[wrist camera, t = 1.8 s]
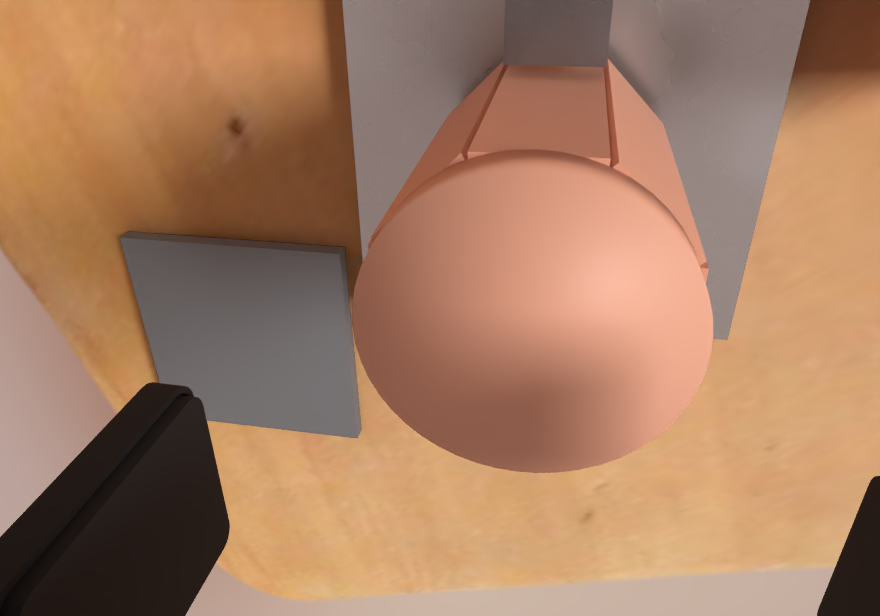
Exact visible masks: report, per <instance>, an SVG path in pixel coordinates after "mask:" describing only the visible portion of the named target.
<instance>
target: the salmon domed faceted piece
mask: <svg viewBox="0 0 880 616" xmlns="http://www.w3.org/2000/svg"><path fill="white" fill-rule="evenodd" d="M370 238H371V240H370V242H369V243H368V253H367V255H366V257H365V259H364V261H363V263H362V265H361V267H360V271H359V274H358V277H357V281H356V284H355V288H354V296H353V303H352V325H353V331H354V337H355V343H356V346H357V350H358V353H359V356H360V359H361V362H362V364H363V366H364V368H365V371H366V373H367V375H368V377H369V379H370V381H371V382H372V384H373V385H374V387H375V388H376V390H377V392H378V393H379V395H380V396H381V397H382V398H383V400H384V401H385V402H386V403H387V405H388V406H389V407H390V408H391V409H392V410H393V411H394V412H395V413H396V414H397V415H398V416H399V417H400V418H401V419H402V420H403V421H404V422H405V423H406V424H407V425H409V426H410V427H411V428H412V429H414V430H415V431H416V432H417V433H419V434H420V435H421V436H423V437H424V438H426V439H428V440H429V441H431V442H432V443H434V444H436V445H437V446H439V447H441V448H443V449H445V450H447V451H449V452H451V453H453V454H455V455H457V456H460V457H463V458H465V459H468V460H471V461H473V462H476V463H480V464H483V465H487V466H491V467H494V468H500V469H506V470H511V471H519V472H532V473H551V472H564V471H573V470H580V469H584V468H588V467H593V466H597V465H601V464H603V463H606V462H609V461H612V460H615V459H618V458H620V457H622V456H624V455H627V454H629V453H631V452H633V451H635V450H637V449H639V448H640V447H642V446H643V445H645V444H647V443H648V442H650V441H651V440H653V439H654V438H656V437H657V436H658V435H659V434H661V433H662V432H663V431H664V430H666V429H667V428H668V427H669V426H670V425H671V424H672V423H673V422H674V421H675V420H676V419H677V418H678V417H679V416H680V415H681V414H682V412H683V411H684V410H685V409H686V407H687V406H688V404H689V403H690V401H691V400H692V399H693V397H694V396H695V394H696V392H697V390H698V388H699V386H700V384H701V382H702V380H703V378H704V376H705V373H706V369H707V366H708V363H709V360H710V356H711V349H712V342H713V314H712V309H711V303H710V298H709V293H708V290H707V287H706V280H707V275H708V271H709V267H708V264H707V260H706V257H705V253H704V250H703V247H702V244H701V241H700V238H699V235H698V231H697V228H696V225H695V222H694V219H693V216H692V212H691V209H690V206H689V203H688V200H687V197H686V194H685V190H684V187H683V184H682V181H681V178H680V175H679V172H678V168H677V165H676V162H675V159H674V156H673V153H672V149H671V146H670V143H669V140H668V137H667V134H666V131H665V127H664V124H663V123H662V121H661V120H660V119H659V118H658V117H657V116H656V114H655V113H654V112H653V111H652V110H651V108H650V107H649V106H648V105H647V104H646V103H645V101H644V100H643V99H642V98H641V97H640V96H639V94H638V93H637V92H636V91H635V90H634V88H633V87H632V86H631V85H630V84H629V83H628V81H627V80H626V79H625V78H624V77H623V76H622V74H621V73H620V72H619V71H618V70H617V68H616V67H615V66H614V65H613V64H612V63H611V61H610V60H609V59H607V64H606V67H571V66H534V65H503V62H502V63H501V64H500V65H499V66H498V67H497V68H496V69H495V70H494V71H493V72H492V73H491V74H490V75H489V76H488V77H486V78H485V79H484V80H483V81H482V82H481V83H480V84H479V85H478V86H477V87H476V88H475V89H474V90H473V91H472V92H471V93H470V94H469V95H468V96H467V97H466V98H465V99H464V100H463V101H462V102H461V103H460V104H459V105H458V106H457V107H456V108H455V109H454V110H453V111H452V112H451V113H450V114H449V115H448V116H447V118H446V119H445V121H444V123H443V124H442V126H441V127H440V129H439V130H438V132H437V134H436V135H435V137H434V138H433V140H432V141H431V143H430V145H429V146H428V148H427V149H426V151H425V153H424V154H423V156H422V157H421V159H420V160H419V162H418V164H417V165H416V167H415V168H414V170H413V171H412V173H411V175H410V176H409V178H408V179H407V181H406V182H405V184H404V186H403V187H402V189H401V190H400V192H399V193H398V195H397V197H396V198H395V200H394V201H393V203H392V204H391V206H390V208H389V209H388V211H387V212H386V214H385V215H384V217H383V219H382V220H381V222H380V223H379V225H378V226H377V228H376V230H375V231H374V233H373V234H372V236H371V237H370Z"/></svg>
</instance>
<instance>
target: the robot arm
mask: <svg viewBox="0 0 880 616" xmlns="http://www.w3.org/2000/svg"><path fill="white" fill-rule="evenodd" d="M229 527H230V525H229V519H228V514H227V510H226V505H225V501H224V496H223V492H222V487H221V483H220V478H219V474H218V469H217V465H216V460H215V456H214V451H213V447H212V442H211V438H210V433H209V429H208V424H207V420H206V415H205V411H204V406H203V403H202V401H201V399H200V398H198V397H194V395H193V392H192V390H191V389H190V388H189V387H186V386H181V385H172V384H163V383H154V382H152V383H148V384H146V385H145V386H144V387H142V388H141V389H140V391H139V392H138V393H137V394H136V395H135V396H134V397H133V398H132V399H131V400H130V401H129V402H128V403H127V404H126V405H125V406H124V407H123V408H122V410H121V411H120V412H119V413H118V414H117V415H116V416H115V417H114V418H113V419H112V420H111V421H110V422H109V423H108V424H107V425H106V427H104V429H103V430H102V431H101V432H100V433H99V434H98V435H97V436H96V437H95V438H94V439H93V440H92V441H91V442H90V443H89V444H88V445H87V446H86V448H85V449H84V450H83V451H82V452H81V453H80V454H79V455H78V456H77V457H76V458H75V459H74V460H73V461H72V462H71V463H70V464H69V465H68V466H67V467H66V469H65V470H64V471H63V472H62V473H61V474H60V475H59V476H58V477H57V478H56V479H55V480H54V481H53V482H52V483H51V484H50V485H49V487H47V489H46V490H45V491H44V492H43V493H42V494H41V495H40V496H39V497H38V498H37V499H36V500H35V501H34V502H33V503H32V504H31V506H29V508H28V509H27V510H26V511H25V512H24V513H23V514H22V515H21V516H20V517H19V518H18V519H17V520H16V521H15V522H14V523H13V524H12V525H11V526H10V528H9V529H8V530H7V531H6V532H5V533H4V534H3V535H2V536H1V537H0V616H185V615H186V613H187V611H188V610H189V608H190V606H191V604H192V603H193V601H194V599H195V598H196V595H197V594H198V592H199V591H200V589H201V587H202V585H203V584H204V582H205V580H206V578H207V577H208V575H209V573H210V572H211V570H212V568H213V566H214V565H215V563H216V561H217V560H218V558H219V556H220V554H221V553H222V551H223V549H224V547H225V545H226V543H227V539H228V535H229ZM817 616H880V476H875V477H874V478H873V479H872V480H871V482H870V483H869V486H868V488H867V491H866V493H865V495H864V498H863V500H862V503H861V505H860V508H859V510H858V513H857V515H856V518H855V520H854V523H853V525H852V528H851V530H850V532H849V535H848V537H847V540H846V542H845V545H844V547H843V550H842V552H841V555H840V557H839V560H838V562H837V565H836V567H835V569H834V572H833V574H832V577H831V579H830V582H829V584H828V587H827V589H826V592H825V594H824V597H823V599H822V602H821V604H820V606H819V609H818V613H817Z"/></svg>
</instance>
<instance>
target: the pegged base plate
mask: <svg viewBox="0 0 880 616" xmlns="http://www.w3.org/2000/svg"><path fill="white" fill-rule="evenodd" d="M342 4H343V17H344V29H345V42H346V55H347V68H348V80H349V93H350V106H351V119H352V131H353V144H354V157H355V170H356V182H357V195H358V208H359V221H360V233H361V246H362V259H363V261H364V259H365V257H366V255H367V253H368V243H369V242H370V240H371V238H370V237H371V236H372V234H373V233H374V231H375V230H376V228H377V226H378V225H379V223H380V222H381V220H382V219H383V217H384V215H385V214H386V212H387V211H388V209H389V208H390V206H391V204H392V203H393V201H394V200H395V198H396V197H397V195H398V193H399V192H400V190H401V189H402V187H403V186H404V184H405V182H406V181H407V179H408V178H409V176H410V175H411V173H412V171H413V170H414V168H415V167H416V165H417V164H418V162H419V160H420V159H421V157H422V156H423V154H424V153H425V151H426V149H427V148H428V146H429V145H430V143H431V141H432V140H433V138H434V137H435V135H436V134H437V132H438V130H439V129H440V127H441V126H442V124H443V123H444V121H445V119H446V118H447V116H448V115H449V114H450V113H451V112H452V111H453V110H454V109H455V108H456V107H457V106H458V105H459V104H460V103H461V102H462V101H463V100H464V99H465V98H466V97H467V96H468V95H469V94H470V93H471V92H472V91H473V90H474V89H475V88H476V87H477V86H478V85H479V84H480V83H481V82H482V81H483V80H484V79H485V78H486V77H488V76H489V75H490V74H491V73H492V72H493V71H494V70H495V69H496V68H497V67H498V66H499V65H500V64H501V63H502V62H503V65H534V66H571V67H606V64H607V59H609V60H610V61H611V63H612V64H613V65H614V66H615V67H616V68H617V70H618V71H619V72H620V73H621V74H622V76H623V77H624V78H625V79H626V80H627V81H628V83H629V84H630V85H631V86H632V87H633V88H634V90H635V91H636V92H637V93H638V94H639V96H640V97H641V98H642V99H643V100H644V101H645V103H646V104H647V105H648V106H649V107H650V108H651V110H652V111H653V112H654V113H655V114H656V116H657V117H658V118H659V119H660V120H661V121H662V123H663V124H664V127H665V131H666V134H667V137H668V140H669V143H670V146H671V149H672V153H673V156H674V159H675V162H676V165H677V168H678V172H679V175H680V178H681V181H682V184H683V187H684V190H685V194H686V197H687V200H688V203H689V206H690V209H691V212H692V216H693V219H694V222H695V225H696V228H697V231H698V235H699V238H700V241H701V244H702V247H703V250H704V253H705V257H706V260H707V264H708V267H709V271H708V275H707V280H706V287H707V290H708V293H709V298H710V303H711V309H712V314H713V339H723V340H727V339H728V335H729V331H730V327H731V323H732V319H733V315H734V311H735V307H736V303H737V298H738V294H739V290H740V286H741V282H742V278H743V274H744V270H745V266H746V262H747V258H748V253H749V249H750V245H751V241H752V237H753V233H754V229H755V225H756V221H757V217H758V213H759V208H760V204H761V200H762V196H763V192H764V188H765V184H766V180H767V176H768V172H769V168H770V163H771V159H772V155H773V151H774V147H775V143H776V139H777V135H778V131H779V127H780V123H781V118H782V114H783V110H784V106H785V102H786V98H787V94H788V90H789V86H790V82H791V78H792V73H793V69H794V65H795V61H796V57H797V53H798V49H799V45H800V41H801V37H802V33H803V28H804V24H805V20H806V16H807V12H808V8H809V4H810V0H342Z"/></svg>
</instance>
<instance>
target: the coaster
mask: <svg viewBox="0 0 880 616" xmlns="http://www.w3.org/2000/svg"><path fill="white" fill-rule="evenodd" d="M120 241H121V245H122V248H123V252H124V256H125V259H126V263H127V266H128V270H129V274H130V277H131V281H132V284H133V288H134V292H135V295H136V299H137V302H138V306H139V310H140V313H141V317H142V320H143V324H144V328H145V331H146V335H147V338H148V342H149V346H150V349H151V353H152V356H153V360H154V364H155V367H156V371H157V374H158V378H159V382H160V383H163V384H172V385H181V386H186V387H189V388H190V389H191V390H192V392H193V395H194V397H198V398H200V399H201V401H202V403H203V406H204V411H205V415H206V420H208V421H216V422H225V423H233V424H241V425H250V426H258V427H266V428H275V429H283V430H291V431H300V432H308V433H316V434H325V435H333V436H341V437H350V438H358V436H359V434H360V432H361V420H360V409H359V398H358V387H357V377H356V366H355V355H354V344H353V333H352V323H351V312H350V301H349V290H348V279H347V269H346V258H345V247H335V246H321V245H307V244H294V243H280V242H266V241H252V240H239V239H225V238H211V237H198V236H184V235H170V234H157V233H143V232H129V231H128V232H127V233H125V234H124V235H123V236H121V237H120Z"/></svg>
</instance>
